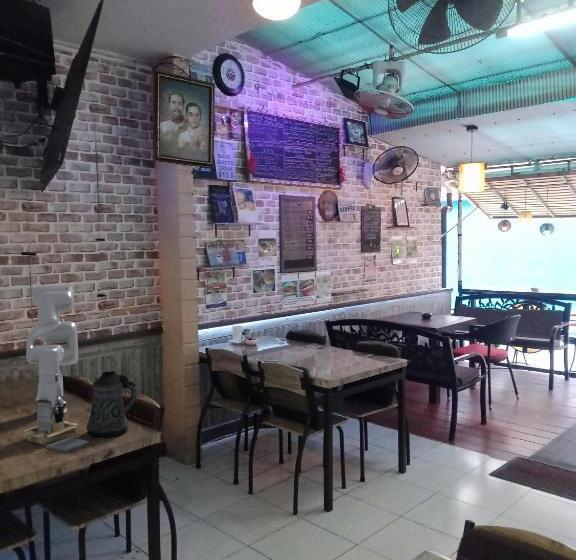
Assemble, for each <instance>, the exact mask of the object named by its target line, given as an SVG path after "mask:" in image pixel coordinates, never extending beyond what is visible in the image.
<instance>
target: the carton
mask: <svg viewBox="0 0 576 560" xmlns="http://www.w3.org/2000/svg"><path fill="white" fill-rule="evenodd" d="M64 423H65V428H62V429H59V430H56V431H53V432H50V433H47V434H43V433H38V427H37V425H36V426H33V427H30V428H26V429H23V430H22V435H25V436H26V441H28V442H32V443H35V444H39V445H45V446H46V445H49V444H52V443H55V442H57V441H60V440H63V439H66V438H69V437H73V436H75V435H76V429H79V428H80V426H79V423H75V422H70V421H66V420H64Z"/></svg>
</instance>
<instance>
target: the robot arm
mask: <svg viewBox="0 0 576 560" xmlns="http://www.w3.org/2000/svg"><path fill="white" fill-rule="evenodd" d="M74 293H75V291H74V288H73V286H71V285H68V284H61V285H60V284H59V285H38V286H35V287H33V288H32V291H31V295H32V300H33V302H34V304H35V306H36V308H37V324H36V325H35V326H34V327H33V328H32V330H30V332H29V334H28V336H27V338H26V346H25V347H26V350H25V351H26V352H25V355H26V362H28V364H30V365H38V371H39V372H38V374H39V382H38V384H37V392H36V393H37V394H36V397H35V402H36V401H38V400H46V401H51V408H54V410H55V412H56V413H55V423H60V422H62V421H63V411H64V414H65V413H67V412H68V408H67V407H66V405H67V402H66V401H65V400H63V399H64V398H63V399H62V396H63V397H64V383H63V382H64V381H63V379H64V378H63V373H62V371H61V370H60V366H71V365H75V364H77V362H78V359H79V342H78V340H79V339H78V328H77V325H76V323H75V322H74V321H69V320H68V321H67V320H66V321H65V320H64V321H61V320H60V311H71V310H72V309H73V308H74V305H75V294H74ZM38 338H40V339H41V341H42V342H43V343H47V344H43V345H41V344H40V345H34V344H35V341H36V340H37V339H38ZM48 343H50V344H48ZM51 343H52V344H51ZM53 343H67V344H53ZM56 404H57V405H56ZM58 407H59V409H57V408H58Z"/></svg>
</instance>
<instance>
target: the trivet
mask: <svg viewBox="0 0 576 560" xmlns="http://www.w3.org/2000/svg"><path fill="white" fill-rule="evenodd" d="M88 443H89V444H90V441H89V440H84V439H78V438H75V437H72V436H70V437H67V438H64V439H61V440H58V441H55V442H52V443H49V444H46V445H45V448H46V449H51V450H54V451H58V452H62V453H67V452H70V451H72V450H75V449H78V448H81V447H83V446H86V445H88Z"/></svg>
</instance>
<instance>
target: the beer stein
mask: <svg viewBox="0 0 576 560" xmlns="http://www.w3.org/2000/svg"><path fill="white" fill-rule="evenodd" d="M91 387H92V390H93V393H92V394H93V395H92V399H91V401H92V402H91V408H90V409H91V410H90V414H89V418H88V422H87V424H86V431H87V435H89V436H88V437H89V438H91V437H92V439H96V438H107V439H111V438H112V437H114V438H116V437H117V436H118V437H120V435H121V436H123V435H125V434H127V432H128V427H129V420H128V419H127V417H126V413H127V412H128V411H129V410H130V409H131V407H132V406H133V405H134V403H135V402H136V400H137V398H138V388H137V384H136V383H135V382H133V381H132V380H129V378H128V377H127V376H126V375H125V374H118V373H117V372H116V371H104V372H102V373H101V376H98V378H97V379H95V380H94V381H93V383H91ZM122 389H129V390H130V391H131V394H130V395H131V396H130V398H129V399H128V401H127V402H126V403H125V404H124V399H123V393H122V392H123V391H122ZM112 439H113V438H112Z"/></svg>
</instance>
